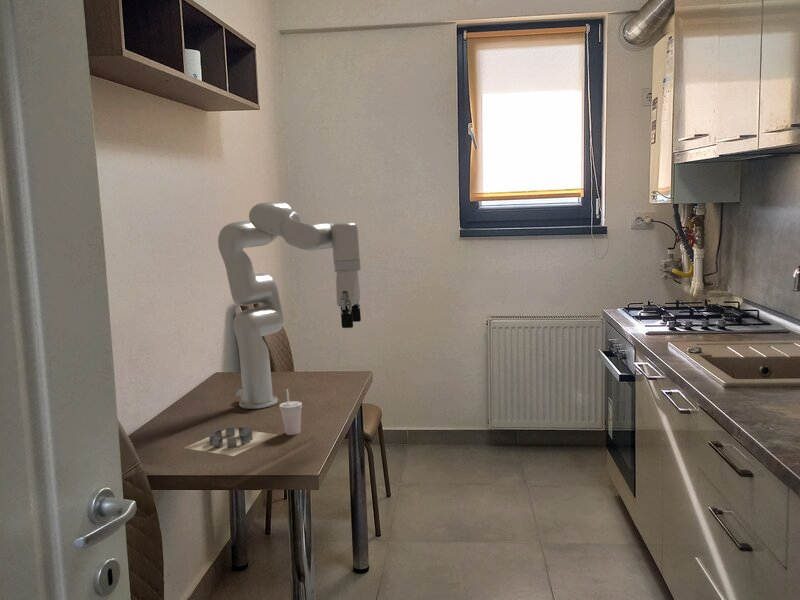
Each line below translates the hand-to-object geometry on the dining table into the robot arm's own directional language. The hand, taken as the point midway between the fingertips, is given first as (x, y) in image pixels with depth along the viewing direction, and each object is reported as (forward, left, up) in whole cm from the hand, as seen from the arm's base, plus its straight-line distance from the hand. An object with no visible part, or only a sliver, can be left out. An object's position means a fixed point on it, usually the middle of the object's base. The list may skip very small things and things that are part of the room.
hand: (351, 324), depth 217 cm
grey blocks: (-22, -31, -28) cm, 47 cm away
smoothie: (-10, -19, -29) cm, 36 cm away
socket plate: (-22, -31, -29) cm, 48 cm away
